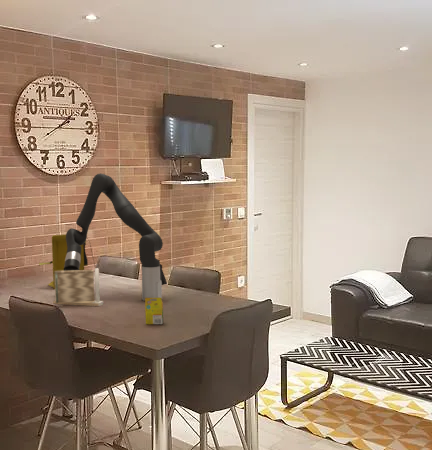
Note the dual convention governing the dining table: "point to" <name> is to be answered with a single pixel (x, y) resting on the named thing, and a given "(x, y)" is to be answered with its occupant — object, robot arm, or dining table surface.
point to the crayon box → (154, 311)
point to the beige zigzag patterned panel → (74, 286)
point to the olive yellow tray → (63, 255)
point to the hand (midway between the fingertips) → (68, 291)
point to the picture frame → (88, 303)
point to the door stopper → (162, 276)
